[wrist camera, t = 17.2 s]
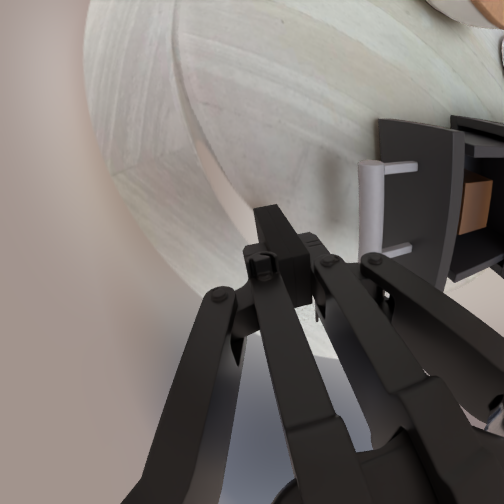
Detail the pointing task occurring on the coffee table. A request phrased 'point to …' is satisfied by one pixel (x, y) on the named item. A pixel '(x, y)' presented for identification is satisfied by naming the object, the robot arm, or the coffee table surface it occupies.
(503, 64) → the cup
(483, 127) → the dark drawer box
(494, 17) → the trinket box
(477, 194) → the block
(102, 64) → the coffee table surface
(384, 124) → the pull-out drawer
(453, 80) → the coffee table surface
